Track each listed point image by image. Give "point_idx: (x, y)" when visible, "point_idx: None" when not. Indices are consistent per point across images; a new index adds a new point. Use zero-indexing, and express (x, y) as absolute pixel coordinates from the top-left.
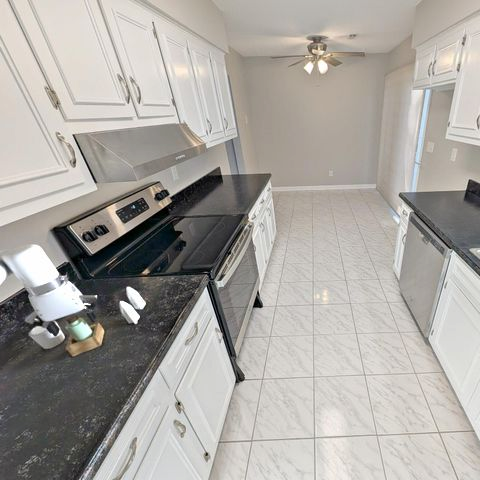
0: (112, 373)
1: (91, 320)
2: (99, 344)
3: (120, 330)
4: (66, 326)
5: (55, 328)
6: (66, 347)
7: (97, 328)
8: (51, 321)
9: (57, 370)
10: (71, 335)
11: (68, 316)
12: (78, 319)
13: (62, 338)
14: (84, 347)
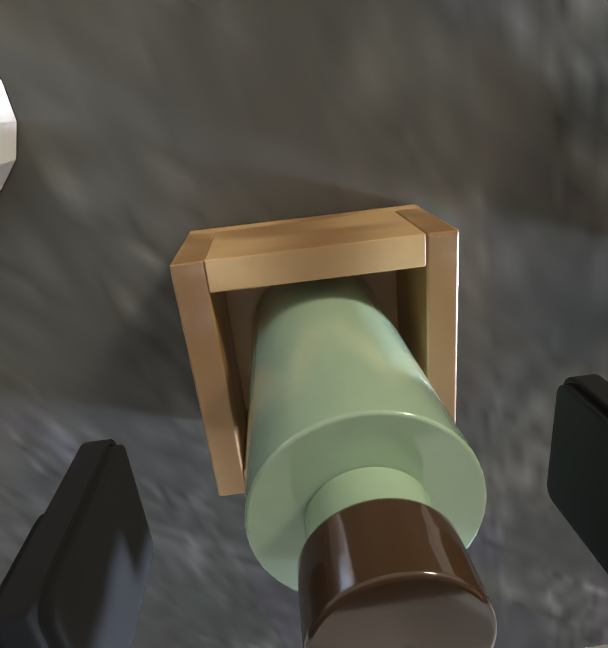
0: (509, 635)
1: (582, 531)
2: None
3: (553, 279)
4: (268, 551)
5: (119, 574)
6: (223, 492)
7: (456, 336)
8: (17, 628)
9: (168, 506)
10: (195, 328)
11: (353, 611)
12: (411, 464)
13: (6, 140)
14: None
